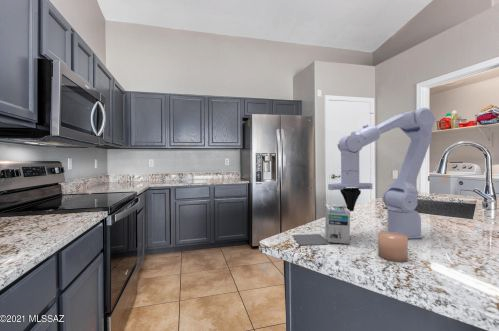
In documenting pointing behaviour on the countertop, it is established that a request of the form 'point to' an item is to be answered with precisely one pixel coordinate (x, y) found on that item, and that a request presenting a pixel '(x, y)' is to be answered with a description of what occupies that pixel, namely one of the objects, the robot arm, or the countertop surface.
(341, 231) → the light bulb box
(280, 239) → the countertop surface
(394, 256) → the tan rounded cylinder
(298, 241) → the flat gray square
